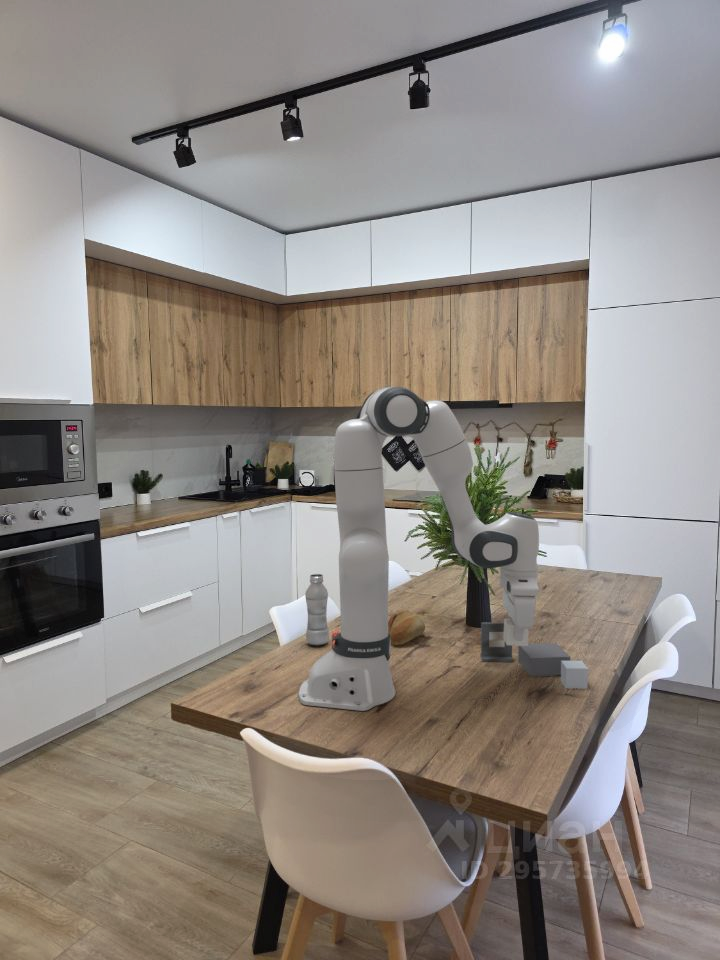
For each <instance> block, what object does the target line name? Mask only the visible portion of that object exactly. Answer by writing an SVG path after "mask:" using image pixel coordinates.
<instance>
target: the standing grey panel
mask: <svg viewBox="0 0 720 960" xmlns="http://www.w3.org/2000/svg"><path fill="white" fill-rule="evenodd" d="M480 626H481V629H480V631H481V632H480V633H481V634H480V635H481V636H480V638H481V639H480V640H481V641H480V653H479V654H480V659H481V662H482V663H483V662H492V663H495V662H496V663H500V662H501V663H513V662H514V658H513V645H506V643H505V641H504V638H503V635H504V622H481V625H480Z"/></svg>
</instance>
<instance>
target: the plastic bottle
mask: <svg viewBox="0 0 720 960" xmlns="http://www.w3.org/2000/svg"><path fill="white" fill-rule="evenodd" d="M323 582H324V575H323V574H322V573H321V574H320V573H313V574H310V575H309V583H310V584H309V585H308V587H307V589H306V591H305V595H304V596H305V601H306V602H305V603H306V610H307V624H306V625H307V626H306V627H307V628H306V631H305V632H306V634H305V638H306V642H307V643H308V644H309V645H311V646H323V645H326V644H327V643H328V642H329V638H330V632H329V627H328V620H327V619H328V618H327V607H328V599H329V592H328V589H327V588H326V585H324V584H323Z"/></svg>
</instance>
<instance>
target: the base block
mask: <svg viewBox="0 0 720 960" xmlns="http://www.w3.org/2000/svg"><path fill="white" fill-rule="evenodd" d="M517 647H518V652H517V654H518V656H517V658H518V660H517V661H518V663H519V664H520V666H521V665H522V666H523V667H522V666H521V667H522V668H523V669H524V671H525V672H526V671H527V672H526V673H527V674H528V675H529V677H531V676H532V677H553V676H554V677H555V676H558V675H561V661H571V656H570V655H569V653H567V652H566V651H565V650H564V649H563V648H562V647H561V646H560V645H558V644H557V643H556V642H549V643H548V642H547V643H546V642H545V643H528V646H517ZM558 677H559V676H558Z"/></svg>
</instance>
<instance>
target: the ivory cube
mask: <svg viewBox="0 0 720 960" xmlns="http://www.w3.org/2000/svg"><path fill="white" fill-rule="evenodd" d="M503 623H504V635H503V638H504V641H505V643H506V645H512V646H517V647H518V646H528V644H529V632H530V631H529V630H530V629H524V632H523V640H522V641H516V640H515V638H514V632H515V624H514V622H513V621H512V619H509V618H503Z"/></svg>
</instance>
